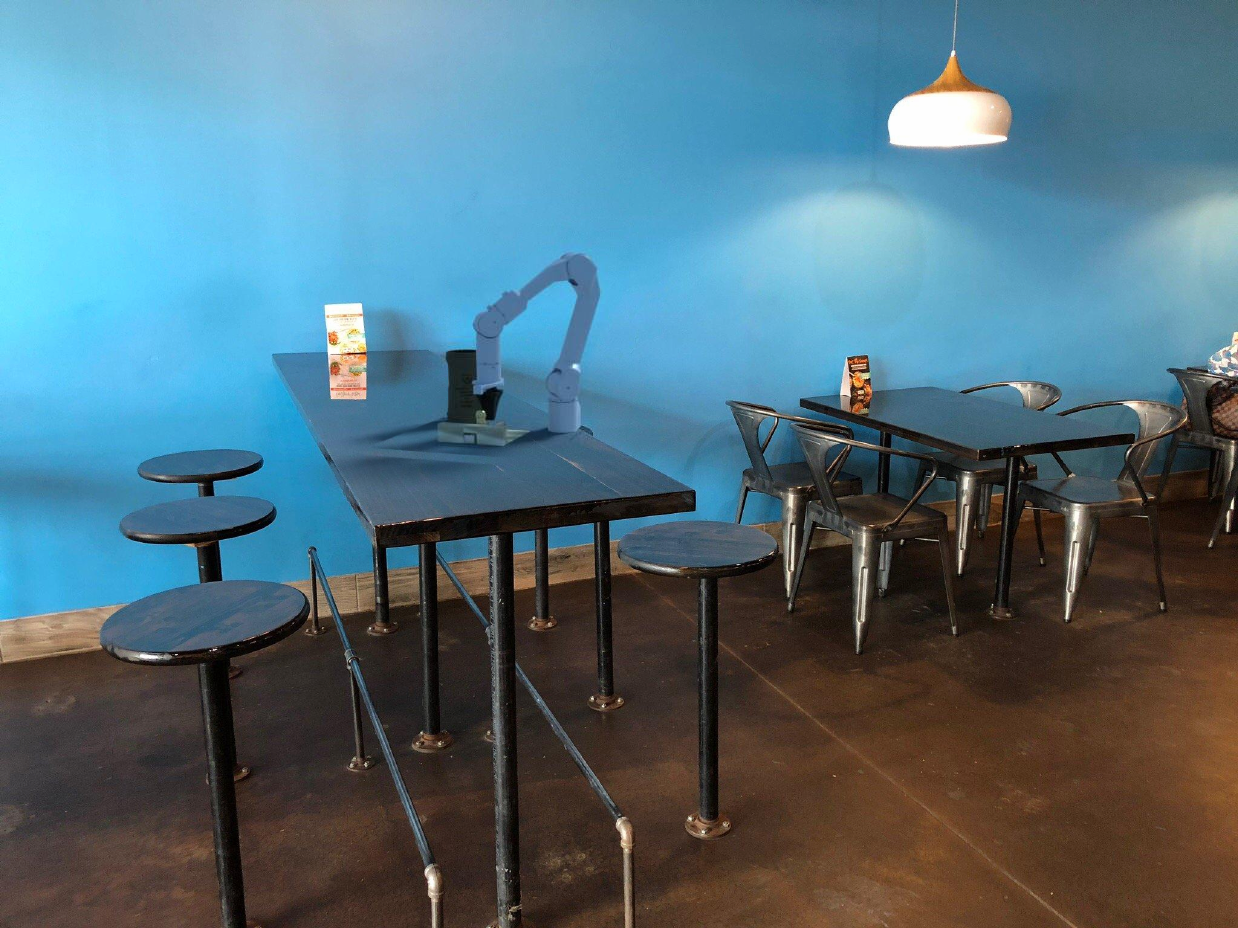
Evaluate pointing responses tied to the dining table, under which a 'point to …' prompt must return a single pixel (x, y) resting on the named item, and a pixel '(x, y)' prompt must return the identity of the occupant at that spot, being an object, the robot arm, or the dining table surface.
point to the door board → (478, 433)
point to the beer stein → (462, 387)
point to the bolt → (480, 421)
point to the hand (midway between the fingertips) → (489, 419)
